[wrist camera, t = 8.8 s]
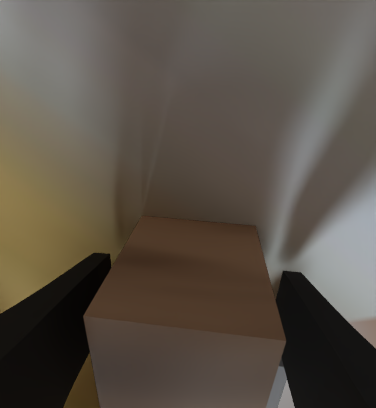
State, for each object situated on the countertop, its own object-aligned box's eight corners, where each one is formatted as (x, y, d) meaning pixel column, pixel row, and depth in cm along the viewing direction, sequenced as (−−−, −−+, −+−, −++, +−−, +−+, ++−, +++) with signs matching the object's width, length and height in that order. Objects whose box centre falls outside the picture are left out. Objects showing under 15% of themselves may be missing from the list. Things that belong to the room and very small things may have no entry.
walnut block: (240, 309, 12) (253, 446, 7) (145, 298, 12) (102, 422, 8) (255, 225, 10) (286, 341, 5) (142, 215, 10) (82, 316, 6)
